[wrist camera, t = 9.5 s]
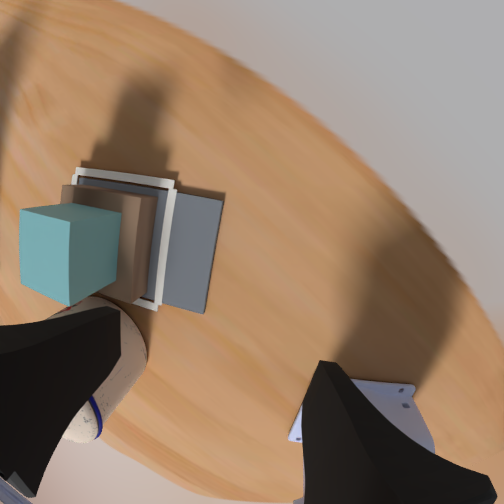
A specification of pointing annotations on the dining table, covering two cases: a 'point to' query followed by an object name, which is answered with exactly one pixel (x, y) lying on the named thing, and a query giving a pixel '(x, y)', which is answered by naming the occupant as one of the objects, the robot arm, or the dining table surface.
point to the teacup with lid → (116, 384)
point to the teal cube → (68, 250)
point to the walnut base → (123, 235)
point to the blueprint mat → (172, 239)
